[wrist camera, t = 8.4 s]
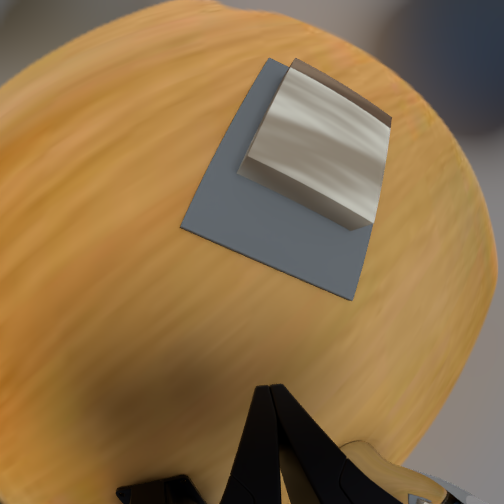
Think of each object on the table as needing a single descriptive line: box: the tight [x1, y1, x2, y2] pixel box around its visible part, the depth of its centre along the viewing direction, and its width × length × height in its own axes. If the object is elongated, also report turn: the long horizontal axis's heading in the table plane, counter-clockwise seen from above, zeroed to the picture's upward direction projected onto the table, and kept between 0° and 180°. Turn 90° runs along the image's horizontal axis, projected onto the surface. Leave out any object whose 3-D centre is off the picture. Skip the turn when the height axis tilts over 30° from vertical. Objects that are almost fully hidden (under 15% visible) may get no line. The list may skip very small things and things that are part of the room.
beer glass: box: [340, 441, 489, 504], centre depth 13 cm, size 7×7×15 cm
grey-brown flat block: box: [237, 58, 392, 231], centre depth 21 cm, size 3×10×11 cm
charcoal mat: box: [180, 58, 373, 301], centre depth 22 cm, size 18×14×1 cm
